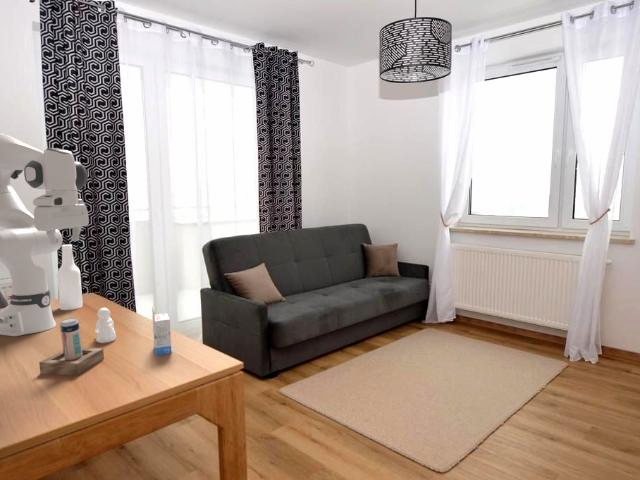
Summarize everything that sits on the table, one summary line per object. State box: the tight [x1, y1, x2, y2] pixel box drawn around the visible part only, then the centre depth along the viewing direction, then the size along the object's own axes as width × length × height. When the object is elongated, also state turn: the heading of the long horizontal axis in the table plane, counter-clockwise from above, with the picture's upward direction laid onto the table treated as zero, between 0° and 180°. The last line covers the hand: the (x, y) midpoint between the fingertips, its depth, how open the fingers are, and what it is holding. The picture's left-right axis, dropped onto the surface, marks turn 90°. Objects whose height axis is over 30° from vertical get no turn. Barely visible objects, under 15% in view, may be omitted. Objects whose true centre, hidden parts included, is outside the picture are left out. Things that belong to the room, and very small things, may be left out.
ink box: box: [151, 306, 172, 356], centre depth 141 cm, size 8×5×15 cm, turn 26°
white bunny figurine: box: [94, 307, 117, 344], centre depth 151 cm, size 6×8×12 cm
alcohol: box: [56, 243, 84, 311], centre depth 190 cm, size 9×9×30 cm
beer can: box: [59, 317, 83, 361], centre depth 129 cm, size 5×5×12 cm
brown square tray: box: [38, 347, 105, 377], centre depth 129 cm, size 12×12×4 cm
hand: (65, 242), depth 138 cm, fingers open, 8 cm apart
